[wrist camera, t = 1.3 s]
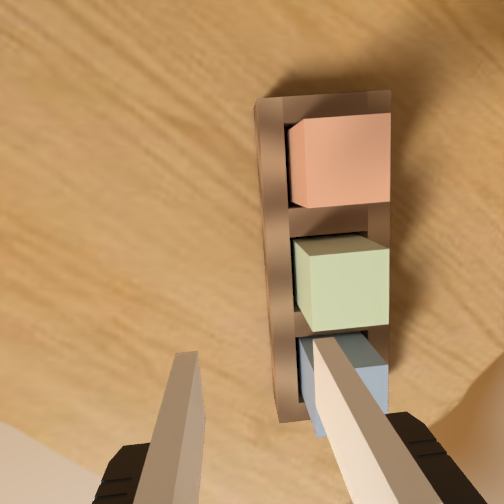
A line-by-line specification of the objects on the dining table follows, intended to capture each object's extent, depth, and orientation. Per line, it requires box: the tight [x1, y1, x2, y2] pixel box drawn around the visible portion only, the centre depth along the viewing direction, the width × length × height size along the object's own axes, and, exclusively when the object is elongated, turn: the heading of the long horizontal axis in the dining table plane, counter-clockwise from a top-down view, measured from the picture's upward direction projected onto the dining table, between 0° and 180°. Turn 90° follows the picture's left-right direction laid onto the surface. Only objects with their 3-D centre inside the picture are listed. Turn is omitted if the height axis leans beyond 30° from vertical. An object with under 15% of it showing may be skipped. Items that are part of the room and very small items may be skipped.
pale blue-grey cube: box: [297, 331, 388, 438], centre depth 32 cm, size 6×6×7 cm
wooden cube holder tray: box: [254, 89, 391, 423], centre depth 34 cm, size 30×11×4 cm, turn 4°
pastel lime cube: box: [292, 234, 390, 332], centre depth 30 cm, size 6×6×7 cm
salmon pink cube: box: [287, 113, 391, 208], centre depth 28 cm, size 6×6×7 cm
